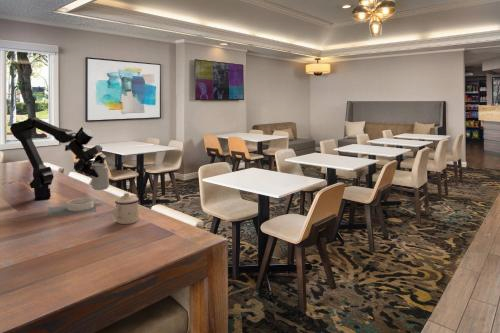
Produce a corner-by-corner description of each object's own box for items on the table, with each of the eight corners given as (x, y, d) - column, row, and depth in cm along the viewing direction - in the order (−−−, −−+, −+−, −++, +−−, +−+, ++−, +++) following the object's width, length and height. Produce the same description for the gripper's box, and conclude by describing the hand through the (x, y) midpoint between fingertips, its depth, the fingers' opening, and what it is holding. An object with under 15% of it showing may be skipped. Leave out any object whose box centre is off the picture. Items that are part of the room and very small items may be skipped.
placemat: (47, 218, 157) (47, 217, 157) (48, 208, 171) (48, 207, 171) (96, 212, 165) (96, 211, 165) (94, 203, 179) (94, 202, 179)
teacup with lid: (127, 216, 160) (126, 189, 158) (144, 219, 156) (143, 191, 154) (105, 224, 149) (103, 196, 147) (123, 228, 145) (121, 198, 143)
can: (103, 191, 176) (101, 165, 174) (89, 189, 178) (87, 164, 176) (112, 187, 184) (111, 163, 181) (98, 186, 185) (97, 162, 183)
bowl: (67, 212, 164) (66, 205, 163) (67, 206, 174) (66, 199, 173) (95, 209, 168) (94, 202, 168) (93, 203, 178) (92, 197, 178)
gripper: (77, 142, 168) (101, 167, 168) (101, 137, 186) (123, 160, 186) (63, 158, 171) (86, 183, 171) (88, 153, 189) (109, 175, 189)
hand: (102, 175), depth 179 cm, fingers closed on can, 7 cm apart
